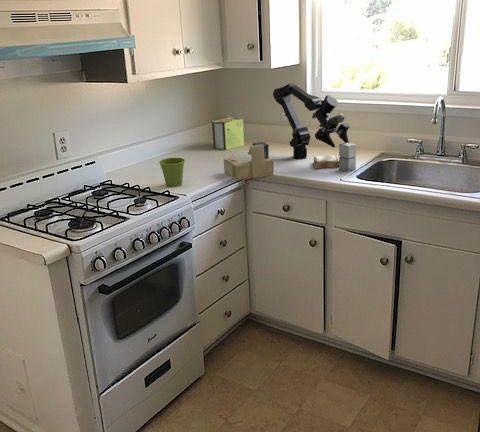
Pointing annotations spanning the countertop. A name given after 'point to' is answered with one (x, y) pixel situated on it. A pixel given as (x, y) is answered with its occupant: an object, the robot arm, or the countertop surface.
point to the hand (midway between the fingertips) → (341, 145)
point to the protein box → (228, 133)
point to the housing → (347, 156)
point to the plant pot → (172, 170)
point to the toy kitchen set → (250, 165)
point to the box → (266, 150)
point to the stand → (326, 162)
